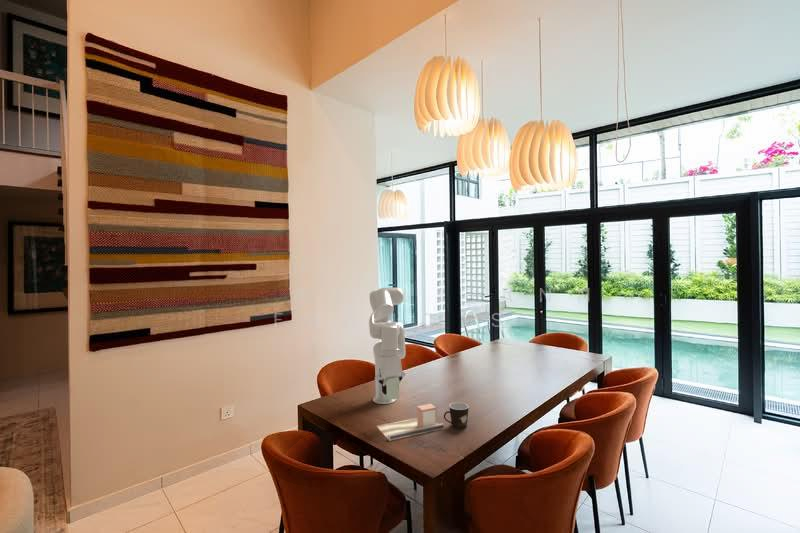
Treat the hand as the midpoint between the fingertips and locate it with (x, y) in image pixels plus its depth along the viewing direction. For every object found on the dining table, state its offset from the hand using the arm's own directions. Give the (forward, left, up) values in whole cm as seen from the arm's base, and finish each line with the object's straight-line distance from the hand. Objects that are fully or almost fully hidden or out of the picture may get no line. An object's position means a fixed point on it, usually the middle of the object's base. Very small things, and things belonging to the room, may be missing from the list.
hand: (390, 392), depth 170 cm
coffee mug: (+13, +26, -16) cm, 33 cm away
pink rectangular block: (+8, +14, -15) cm, 22 cm away
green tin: (0, 0, -2) cm, 2 cm away
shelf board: (+5, +7, -16) cm, 18 cm away
